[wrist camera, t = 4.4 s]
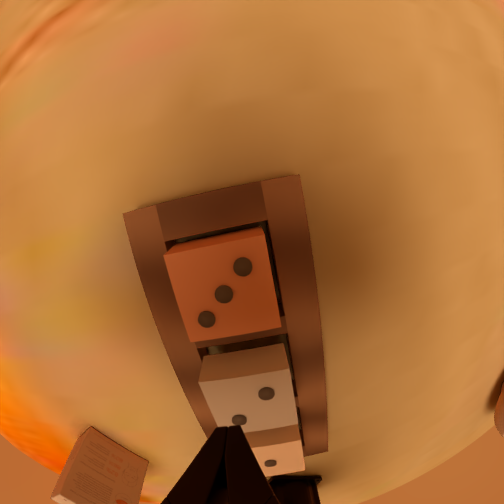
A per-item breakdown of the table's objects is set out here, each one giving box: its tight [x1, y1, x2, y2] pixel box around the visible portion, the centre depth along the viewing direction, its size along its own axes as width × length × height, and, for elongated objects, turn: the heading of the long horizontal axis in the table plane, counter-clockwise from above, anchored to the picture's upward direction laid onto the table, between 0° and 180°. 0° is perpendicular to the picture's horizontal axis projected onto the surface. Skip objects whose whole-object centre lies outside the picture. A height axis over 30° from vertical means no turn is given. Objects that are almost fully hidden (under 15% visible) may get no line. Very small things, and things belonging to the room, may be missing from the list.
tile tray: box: [123, 174, 328, 457], centre depth 18 cm, size 24×10×2 cm, turn 11°
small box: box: [51, 427, 148, 504], centre depth 17 cm, size 8×6×10 cm
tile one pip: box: [244, 424, 305, 477], centre depth 17 cm, size 5×5×3 cm
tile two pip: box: [198, 343, 298, 433], centre depth 15 cm, size 5×5×3 cm
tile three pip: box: [163, 226, 281, 342], centre depth 15 cm, size 5×5×3 cm
